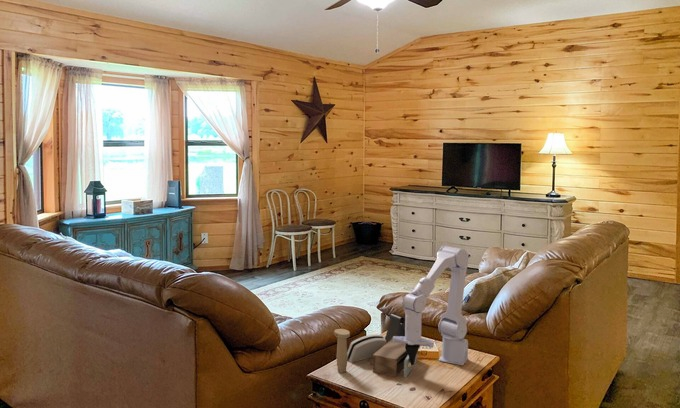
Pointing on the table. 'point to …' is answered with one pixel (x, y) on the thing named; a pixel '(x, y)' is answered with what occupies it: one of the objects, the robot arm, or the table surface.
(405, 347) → the robot arm
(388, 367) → the cabinet
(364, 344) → the grey curved piece
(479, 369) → the table surface
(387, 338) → the phone stand
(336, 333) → the handle
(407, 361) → the door
